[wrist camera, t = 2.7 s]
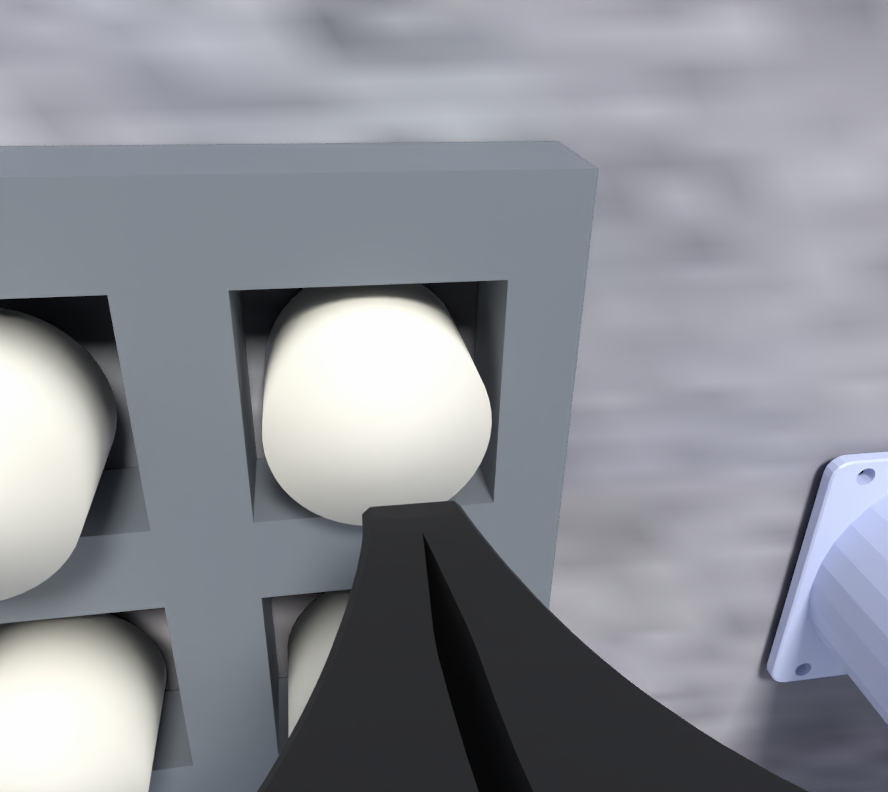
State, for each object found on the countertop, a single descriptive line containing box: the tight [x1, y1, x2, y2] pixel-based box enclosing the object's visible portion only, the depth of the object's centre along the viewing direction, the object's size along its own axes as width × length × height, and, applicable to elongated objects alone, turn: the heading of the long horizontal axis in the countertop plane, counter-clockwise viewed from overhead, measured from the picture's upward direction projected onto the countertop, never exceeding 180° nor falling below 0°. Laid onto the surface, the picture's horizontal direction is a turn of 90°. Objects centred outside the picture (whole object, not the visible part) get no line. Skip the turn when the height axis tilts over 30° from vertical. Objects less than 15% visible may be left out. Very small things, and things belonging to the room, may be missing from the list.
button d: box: [0, 613, 167, 792], centre depth 17 cm, size 4×4×3 cm
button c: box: [288, 589, 351, 738], centre depth 18 cm, size 4×4×3 cm
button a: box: [262, 283, 492, 526], centre depth 16 cm, size 4×4×3 cm
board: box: [0, 141, 598, 792], centre depth 18 cm, size 15×16×2 cm
